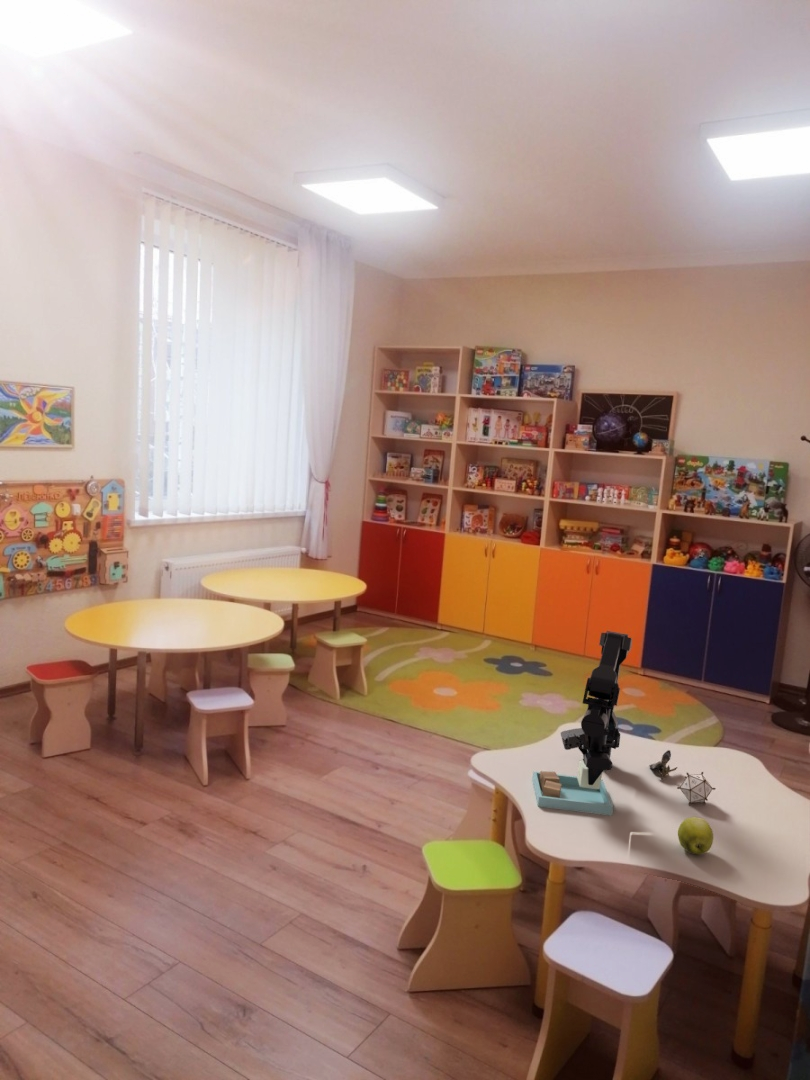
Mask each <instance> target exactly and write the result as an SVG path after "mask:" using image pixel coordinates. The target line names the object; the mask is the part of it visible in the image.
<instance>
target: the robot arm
mask: <svg viewBox="0 0 810 1080" xmlns="http://www.w3.org/2000/svg"><path fill="white" fill-rule="evenodd" d="M598 643H599V645H598V646H599V647H601V652H600V653H601V657H600V661H599V664H598V666H597V667H596V668H593V669H592V671H591V674H590V677H589V676H588V677H587V679H586V684H585V689H584V694H583V699H582V705H583V704H585V705H587V709H586V711H585V713H584V715H583V717H582V720H581V721H580V728H573V729H568V730H562V731H561V732H560V737H561V741H562V744H563V747H564V750H566V751H568V750H571V749H577V748H578V750H579V751H580V753H582V761H584V764H585V765H586V767H587V768H588V784H589V785H593V784H594V783H595V781H596V780H597V779H598V777H599V776H600V775H601V773H602V774H603V773H604V771H609V772H610V771H612V769H613V762H612V759H611V754H612V749H614V750H616V749H617V748H620V742H621V732H620V728H618V722H619V721H618V719H617V716H616V714H615V712H614V709H615V706H618V703H619V702H618V701H619V697H620V690H621V688H620V684H619V676H620V670H621V664H622V663H623V662H624V661H625V660H626V659H627V657H628V654H629V652H631V651H632V645H633V644H632V643H633V638H632V637H629V634H628V633H627V634H626V633H620V632H615V631H612V630H611V631H610V630H606V632H600V638H599V642H598Z"/></svg>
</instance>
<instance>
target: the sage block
mask: <svg viewBox="0 0 810 1080" xmlns="http://www.w3.org/2000/svg"><path fill="white" fill-rule="evenodd" d="M602 775H603V772H602V773H601V775H600V776H599V777H598V779H597V780H596V781H595V783H594V784H593V785H589V784H588V768H587V767H586V765H585V764H584V761H583V760H579V763H578V770H577V776H576V777H577V779H578V782H579V785H580V787H584V788H592V789H600V784H601V780H602Z"/></svg>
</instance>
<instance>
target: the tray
mask: <svg viewBox="0 0 810 1080" xmlns="http://www.w3.org/2000/svg"><path fill="white" fill-rule="evenodd" d="M556 774H557V776H558V777H559V784H562V785H561V792H560V798H555V797H547V796H543V792H542V790H541V788H540V786H539V779H540V771H532V778H531V783H532V786H533V791H534V795H535V801H536V803H537V807H538V808H539V807H540V808H548V809H554V810H555V809H556V810H563V811H573V812H582V813H589V814H596V815H597V814H598V815H604V816H613V810H614V804H613V802H612V799H611V797H610V795H609V792H608V790H607V787H606V785H605V782H604V781H603V779H601V784H600V789H592V788H584V787H580V785H579V782H578V779H577V776H575V775H566V774H559V773H556Z"/></svg>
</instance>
